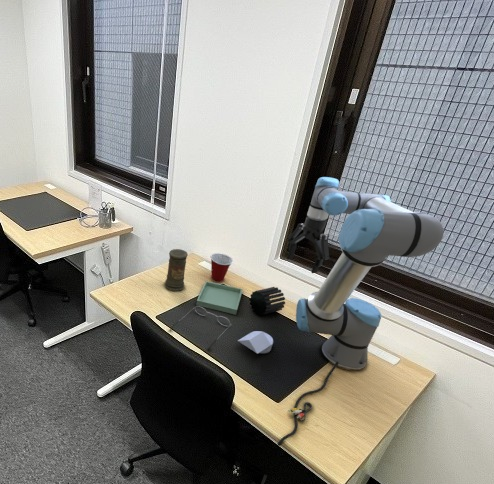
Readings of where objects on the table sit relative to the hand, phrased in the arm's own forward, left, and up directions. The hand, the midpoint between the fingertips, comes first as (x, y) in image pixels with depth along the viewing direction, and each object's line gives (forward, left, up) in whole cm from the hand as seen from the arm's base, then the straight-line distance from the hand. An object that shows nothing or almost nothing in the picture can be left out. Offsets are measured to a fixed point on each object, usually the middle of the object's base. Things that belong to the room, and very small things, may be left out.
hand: (301, 265), depth 161 cm
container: (-7, +52, -21) cm, 56 cm away
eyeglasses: (-35, +33, -21) cm, 52 cm away
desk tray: (-9, +30, -20) cm, 37 cm away
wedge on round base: (-37, +11, -21) cm, 44 cm away
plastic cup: (+9, +34, -21) cm, 41 cm away
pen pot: (-10, +10, -20) cm, 25 cm away
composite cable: (-64, -6, -21) cm, 68 cm away
